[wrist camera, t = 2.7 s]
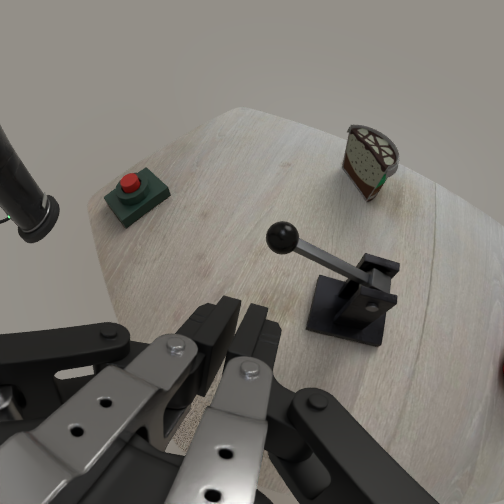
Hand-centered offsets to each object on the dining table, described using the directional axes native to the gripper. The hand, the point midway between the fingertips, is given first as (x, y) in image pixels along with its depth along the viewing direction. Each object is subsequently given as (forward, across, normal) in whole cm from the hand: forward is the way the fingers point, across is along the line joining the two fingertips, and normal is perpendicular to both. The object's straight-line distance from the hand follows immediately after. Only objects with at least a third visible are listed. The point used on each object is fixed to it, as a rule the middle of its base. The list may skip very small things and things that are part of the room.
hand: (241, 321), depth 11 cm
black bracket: (+27, -11, +10) cm, 31 cm away
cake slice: (+46, -12, -9) cm, 48 cm away
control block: (+34, +28, +3) cm, 44 cm away
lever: (+19, -5, +2) cm, 20 cm away
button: (+31, +28, 0) cm, 42 cm away
